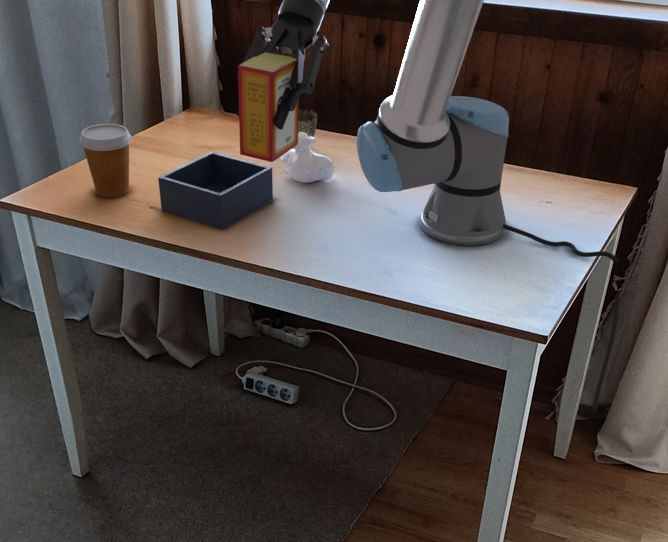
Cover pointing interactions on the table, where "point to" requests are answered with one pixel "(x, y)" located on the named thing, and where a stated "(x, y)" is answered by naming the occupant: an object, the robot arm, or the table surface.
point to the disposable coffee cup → (108, 158)
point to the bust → (307, 161)
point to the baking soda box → (265, 106)
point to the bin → (216, 189)
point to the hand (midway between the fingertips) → (259, 121)
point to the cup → (307, 122)
